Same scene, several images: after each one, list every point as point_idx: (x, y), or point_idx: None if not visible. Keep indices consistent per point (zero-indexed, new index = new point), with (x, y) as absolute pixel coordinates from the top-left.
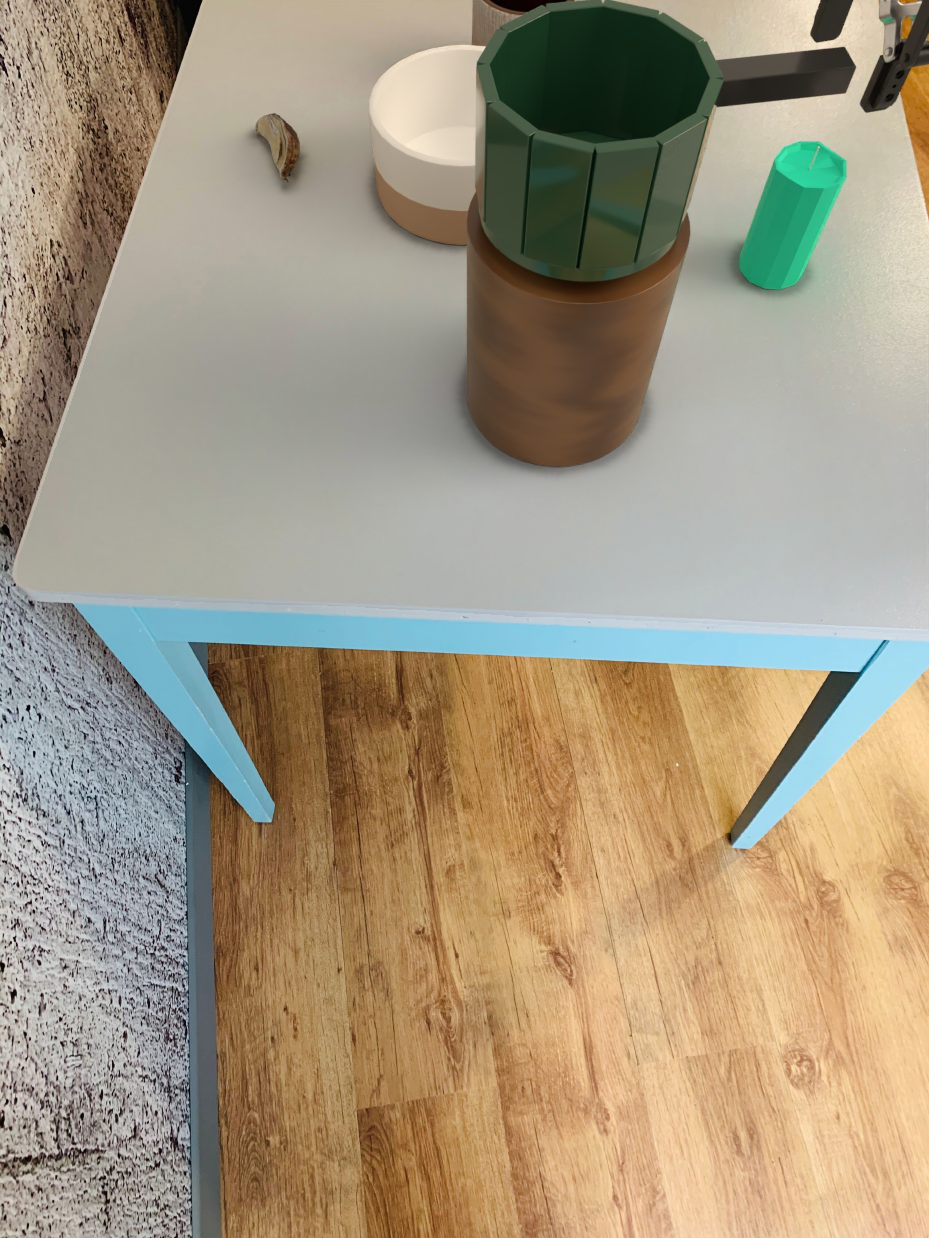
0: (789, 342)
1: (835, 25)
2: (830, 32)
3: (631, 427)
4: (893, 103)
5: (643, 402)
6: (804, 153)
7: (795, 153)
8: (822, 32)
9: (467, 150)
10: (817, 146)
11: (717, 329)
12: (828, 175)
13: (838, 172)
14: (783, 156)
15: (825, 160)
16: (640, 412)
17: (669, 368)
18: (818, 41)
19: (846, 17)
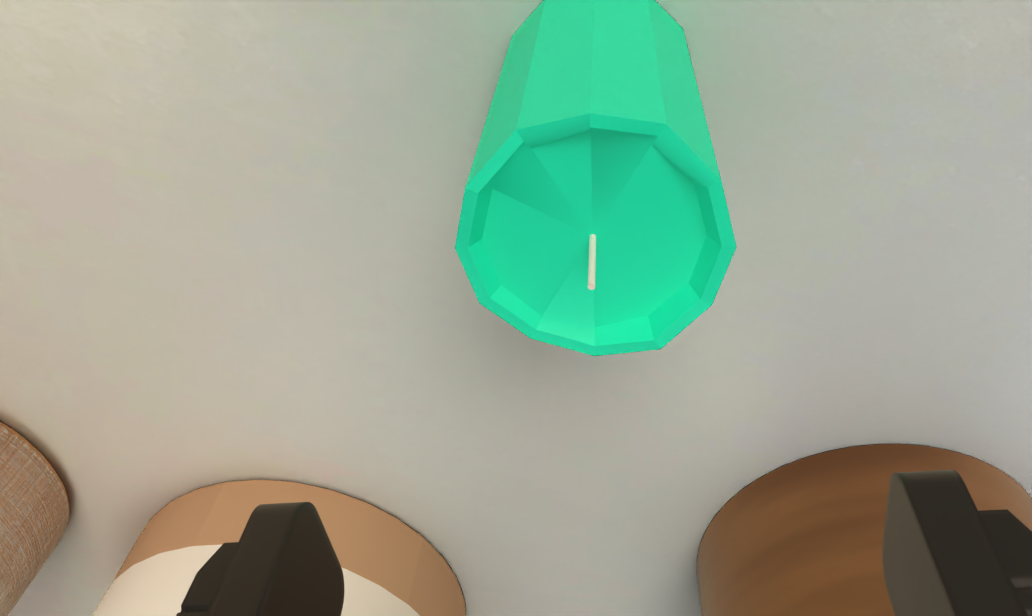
0: (892, 104)
1: (296, 582)
2: (311, 564)
3: (1030, 504)
4: (1024, 527)
5: (986, 483)
6: (503, 230)
7: (500, 259)
8: (326, 603)
9: None
10: (484, 192)
11: (789, 266)
12: (639, 184)
13: (626, 140)
14: (518, 305)
15: (551, 169)
16: (984, 469)
17: (873, 383)
18: (337, 568)
19: (272, 581)
